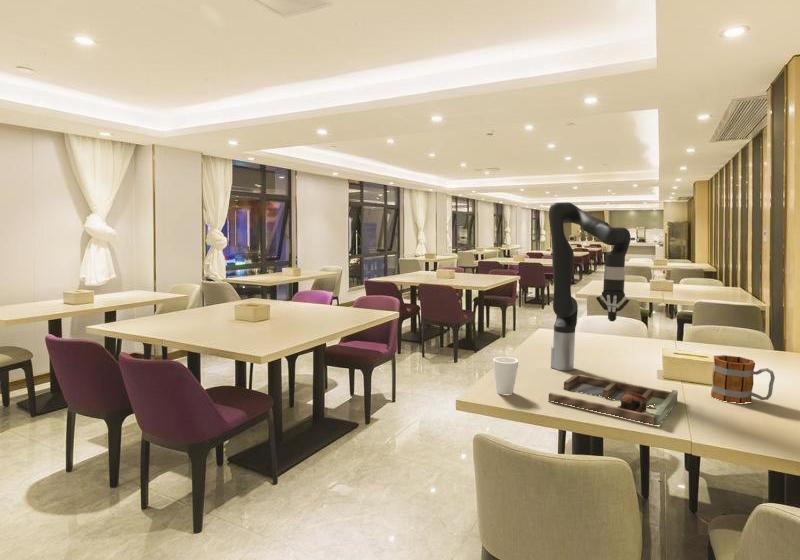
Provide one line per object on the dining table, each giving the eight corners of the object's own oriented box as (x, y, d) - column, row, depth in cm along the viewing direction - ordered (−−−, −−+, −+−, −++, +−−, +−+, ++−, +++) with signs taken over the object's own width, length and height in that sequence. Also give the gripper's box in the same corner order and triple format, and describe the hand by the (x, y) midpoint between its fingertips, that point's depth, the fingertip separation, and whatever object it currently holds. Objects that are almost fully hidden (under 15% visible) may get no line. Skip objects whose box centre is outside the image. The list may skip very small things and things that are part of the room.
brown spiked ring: (609, 410, 173) (616, 388, 175) (632, 421, 174) (639, 399, 176) (631, 414, 161) (638, 390, 163) (655, 425, 162) (662, 402, 164)
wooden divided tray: (546, 401, 180) (546, 390, 180) (575, 380, 205) (576, 371, 204) (658, 427, 157) (659, 415, 156) (677, 401, 181) (677, 390, 181)
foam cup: (502, 398, 183) (503, 364, 182) (487, 390, 191) (488, 358, 190) (522, 394, 187) (523, 361, 186) (506, 387, 196) (507, 355, 194)
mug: (703, 397, 186) (706, 358, 184) (717, 390, 194) (720, 353, 193) (766, 412, 170) (769, 370, 169) (777, 404, 179) (781, 364, 177)
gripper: (634, 278, 192) (632, 321, 193) (599, 276, 200) (597, 317, 202) (629, 279, 186) (627, 324, 188) (594, 277, 194) (592, 320, 196)
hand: (611, 320), depth 195 cm, fingers closed
